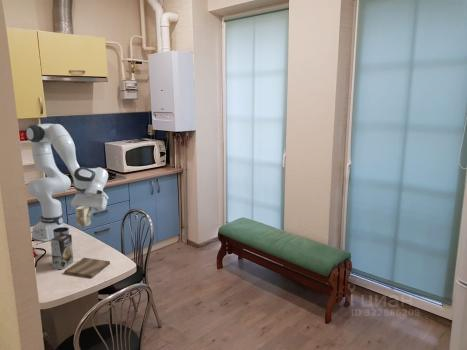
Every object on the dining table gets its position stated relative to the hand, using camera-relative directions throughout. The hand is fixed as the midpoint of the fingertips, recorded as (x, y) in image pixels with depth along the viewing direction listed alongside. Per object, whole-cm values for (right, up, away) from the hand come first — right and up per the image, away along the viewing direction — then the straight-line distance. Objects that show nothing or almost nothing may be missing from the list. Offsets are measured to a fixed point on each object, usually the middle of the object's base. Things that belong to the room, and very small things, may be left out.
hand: (83, 215), depth 198 cm
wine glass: (-15, -23, +9) cm, 29 cm away
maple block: (0, -5, +1) cm, 5 cm away
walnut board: (+5, -27, -7) cm, 29 cm away
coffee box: (-9, -26, -4) cm, 28 cm away
